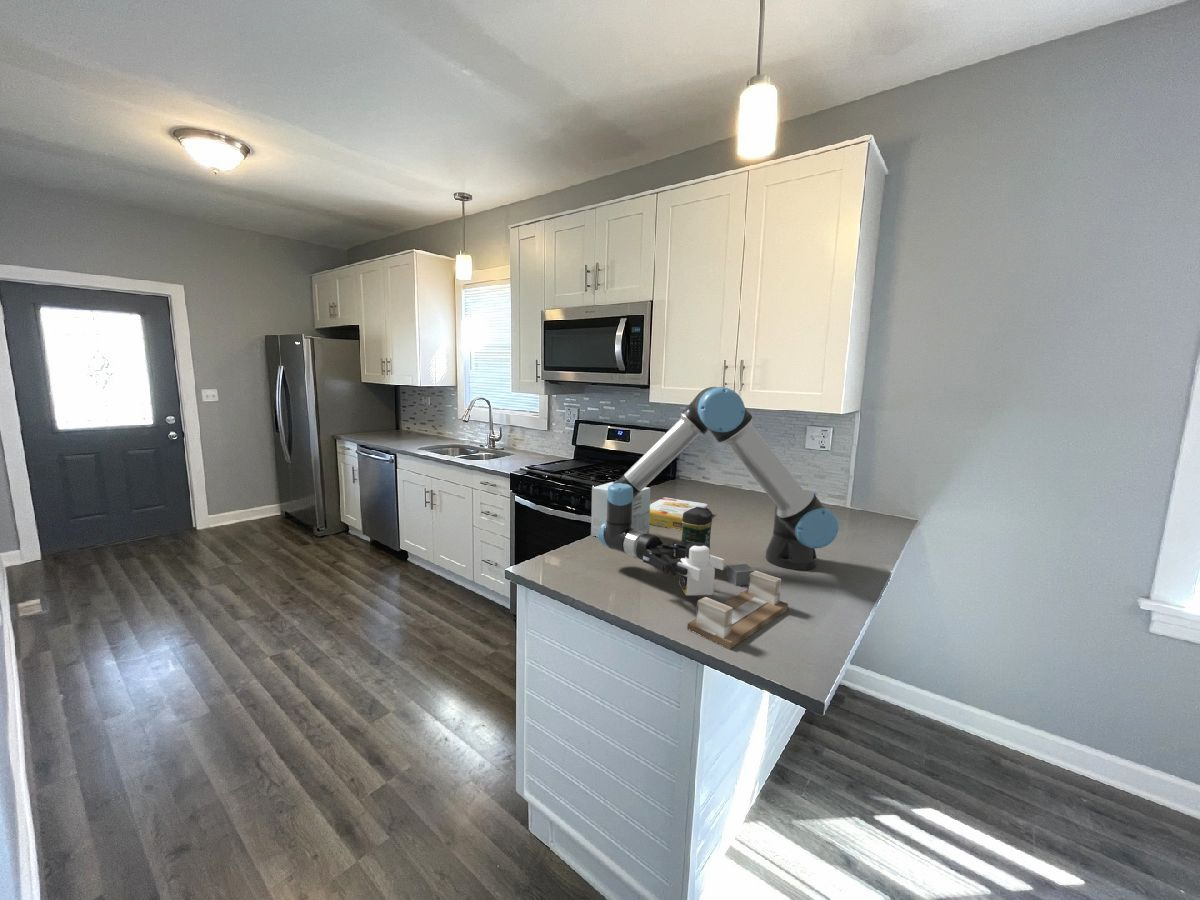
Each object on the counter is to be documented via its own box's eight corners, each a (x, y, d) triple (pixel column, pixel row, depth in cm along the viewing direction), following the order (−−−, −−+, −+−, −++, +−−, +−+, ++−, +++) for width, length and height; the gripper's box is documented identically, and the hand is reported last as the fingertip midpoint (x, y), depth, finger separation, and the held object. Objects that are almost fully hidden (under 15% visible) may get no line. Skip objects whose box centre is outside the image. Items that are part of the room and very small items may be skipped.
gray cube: (744, 577, 140) (745, 563, 140) (754, 584, 136) (755, 570, 135) (726, 578, 139) (727, 565, 138) (735, 586, 134) (736, 572, 133)
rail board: (747, 594, 128) (749, 567, 127) (787, 609, 120) (790, 580, 119) (687, 629, 110) (688, 598, 108) (730, 649, 102) (732, 616, 101)
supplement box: (650, 536, 174) (652, 487, 171) (631, 546, 163) (633, 494, 161) (610, 527, 184) (611, 480, 181) (589, 536, 173) (590, 487, 170)
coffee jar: (701, 577, 139) (704, 514, 136) (675, 570, 143) (678, 510, 141) (712, 566, 147) (716, 507, 144) (688, 560, 151) (691, 503, 149)
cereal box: (637, 509, 189) (663, 495, 214) (637, 523, 190) (662, 507, 215) (687, 519, 180) (708, 502, 204) (686, 533, 181) (707, 515, 205)
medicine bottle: (678, 583, 127) (680, 539, 125) (705, 583, 127) (707, 539, 125) (685, 595, 120) (688, 549, 118) (713, 595, 120) (716, 549, 118)
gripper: (667, 549, 143) (734, 572, 128) (615, 568, 128) (684, 597, 112) (669, 525, 142) (736, 545, 126) (616, 541, 127) (685, 566, 111)
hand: (711, 569), depth 119 cm, fingers closed on medicine bottle, 10 cm apart
